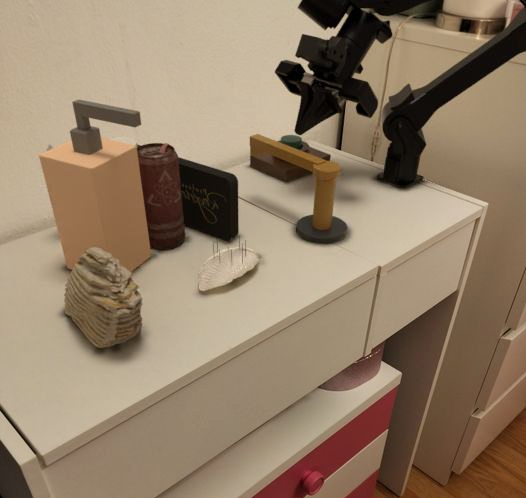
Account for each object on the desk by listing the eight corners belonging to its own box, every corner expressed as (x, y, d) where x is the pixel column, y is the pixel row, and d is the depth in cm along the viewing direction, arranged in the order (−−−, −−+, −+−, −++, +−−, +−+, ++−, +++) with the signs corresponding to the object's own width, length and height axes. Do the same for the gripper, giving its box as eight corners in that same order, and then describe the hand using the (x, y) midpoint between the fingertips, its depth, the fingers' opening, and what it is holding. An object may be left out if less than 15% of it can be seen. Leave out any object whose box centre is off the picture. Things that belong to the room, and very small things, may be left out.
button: (290, 142, 107) (291, 133, 106) (305, 148, 105) (306, 138, 104) (276, 147, 105) (276, 138, 104) (290, 153, 103) (291, 143, 101)
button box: (293, 151, 113) (294, 131, 110) (329, 165, 107) (331, 145, 105) (250, 166, 107) (250, 145, 104) (286, 182, 101) (287, 161, 99)
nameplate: (238, 237, 85) (238, 175, 79) (231, 242, 84) (230, 179, 77) (140, 201, 94) (132, 142, 87) (132, 205, 93) (123, 146, 86)
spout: (344, 184, 82) (346, 164, 80) (326, 191, 80) (328, 171, 78) (262, 150, 92) (262, 132, 90) (244, 156, 90) (244, 137, 88)
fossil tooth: (100, 301, 74) (163, 345, 65) (56, 318, 70) (116, 367, 61) (82, 219, 67) (150, 256, 58) (33, 233, 64) (97, 274, 55)
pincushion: (219, 302, 72) (217, 264, 68) (184, 286, 75) (180, 249, 71) (271, 263, 79) (272, 227, 76) (238, 250, 82) (237, 215, 78)
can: (192, 233, 86) (185, 143, 77) (174, 253, 81) (164, 160, 72) (157, 227, 87) (146, 138, 78) (137, 246, 83) (123, 154, 74)
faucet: (319, 214, 91) (324, 161, 86) (357, 232, 87) (364, 177, 81) (285, 230, 87) (287, 175, 81) (322, 249, 83) (328, 192, 77)
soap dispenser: (66, 268, 78) (24, 105, 64) (106, 242, 84) (76, 87, 69) (139, 293, 73) (111, 123, 59) (175, 263, 79) (159, 102, 65)
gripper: (284, 3, 87) (233, 90, 89) (377, 20, 77) (317, 118, 78) (315, 51, 96) (268, 129, 98) (402, 72, 86) (347, 159, 87)
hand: (297, 133), depth 90 cm, fingers closed
